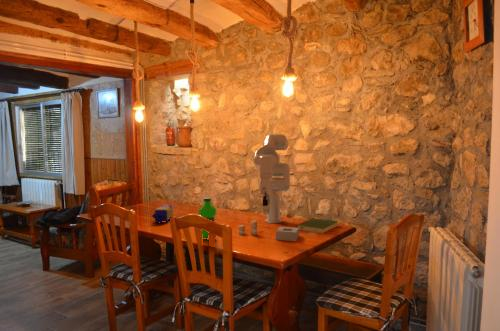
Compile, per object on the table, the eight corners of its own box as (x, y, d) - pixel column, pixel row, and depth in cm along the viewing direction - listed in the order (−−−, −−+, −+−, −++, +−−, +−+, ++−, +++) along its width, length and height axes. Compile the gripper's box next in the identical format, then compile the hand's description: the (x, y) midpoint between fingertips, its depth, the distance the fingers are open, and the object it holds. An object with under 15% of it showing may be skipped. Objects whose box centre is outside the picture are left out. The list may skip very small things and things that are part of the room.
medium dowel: (251, 233, 237) (251, 221, 237) (257, 233, 236) (257, 221, 236) (250, 235, 234) (249, 222, 233) (256, 235, 233) (256, 222, 232)
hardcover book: (313, 223, 265) (313, 218, 265) (338, 226, 254) (338, 221, 254) (296, 230, 245) (296, 225, 245) (322, 234, 234) (322, 228, 234)
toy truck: (174, 217, 291) (173, 204, 290) (166, 224, 266) (166, 210, 265) (161, 217, 291) (160, 204, 290) (152, 224, 266) (151, 210, 265)
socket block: (279, 234, 234) (279, 226, 233) (299, 235, 230) (299, 227, 230) (275, 239, 222) (275, 231, 222) (296, 240, 219) (295, 232, 218)
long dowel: (263, 212, 235) (263, 190, 234) (270, 212, 234) (269, 190, 233) (262, 213, 231) (262, 191, 230) (268, 214, 230) (268, 191, 229)
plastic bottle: (217, 240, 222) (217, 199, 220) (200, 241, 219) (199, 199, 218) (215, 236, 231) (215, 196, 230) (198, 237, 229) (197, 197, 227)
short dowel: (239, 232, 240) (239, 225, 239) (245, 233, 239) (245, 225, 238) (237, 234, 236) (237, 226, 236) (243, 234, 235) (243, 226, 234)
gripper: (263, 174, 239) (263, 202, 241) (256, 177, 223) (256, 207, 225) (274, 174, 237) (274, 202, 239) (268, 177, 221) (269, 208, 223)
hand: (266, 204), depth 232 cm, fingers closed on long dowel, 4 cm apart
